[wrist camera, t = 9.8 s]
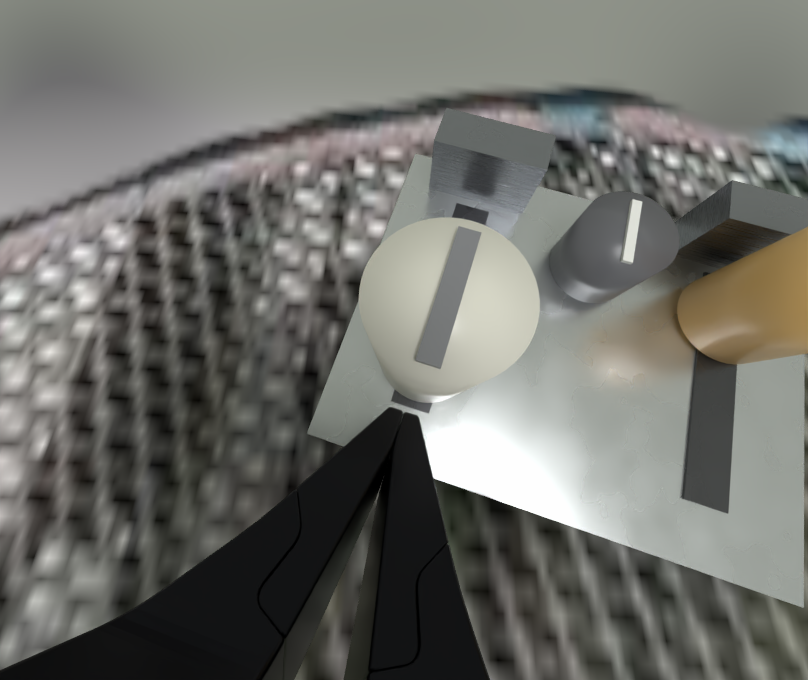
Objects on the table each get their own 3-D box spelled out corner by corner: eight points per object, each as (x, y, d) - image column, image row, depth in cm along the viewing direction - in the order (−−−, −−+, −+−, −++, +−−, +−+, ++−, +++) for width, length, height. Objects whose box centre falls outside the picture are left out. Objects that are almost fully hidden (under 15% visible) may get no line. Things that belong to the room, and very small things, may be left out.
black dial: (622, 313, 15) (677, 286, 12) (541, 290, 15) (576, 257, 12) (633, 244, 16) (686, 203, 13) (557, 223, 16) (592, 178, 13)
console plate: (768, 591, 13) (929, 667, 9) (314, 432, 15) (280, 437, 11) (777, 268, 17) (894, 221, 13) (414, 170, 19) (417, 100, 15)
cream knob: (460, 416, 14) (520, 412, 7) (366, 385, 14) (329, 350, 7) (485, 325, 15) (559, 240, 8) (397, 298, 15) (392, 193, 8)
